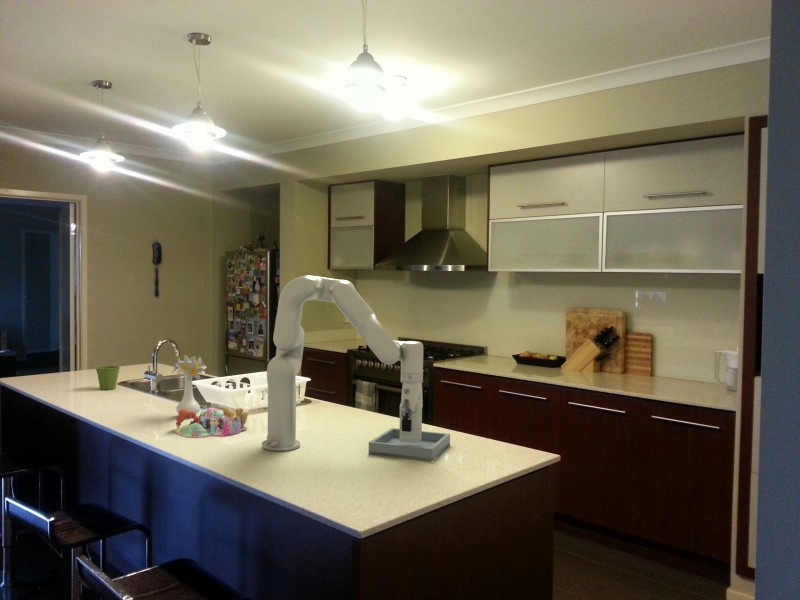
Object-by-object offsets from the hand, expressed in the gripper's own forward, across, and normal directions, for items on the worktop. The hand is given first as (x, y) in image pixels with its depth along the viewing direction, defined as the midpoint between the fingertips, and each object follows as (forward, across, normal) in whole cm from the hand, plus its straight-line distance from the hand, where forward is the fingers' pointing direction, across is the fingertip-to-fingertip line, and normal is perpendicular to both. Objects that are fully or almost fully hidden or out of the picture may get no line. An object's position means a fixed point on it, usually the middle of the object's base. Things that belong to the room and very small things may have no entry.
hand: (410, 428), depth 214 cm
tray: (+7, 0, 0) cm, 7 cm away
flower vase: (+8, +12, +100) cm, 101 cm away
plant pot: (+8, +48, +178) cm, 184 cm away
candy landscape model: (+8, -4, +77) cm, 78 cm away
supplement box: (+4, 0, 0) cm, 4 cm away
